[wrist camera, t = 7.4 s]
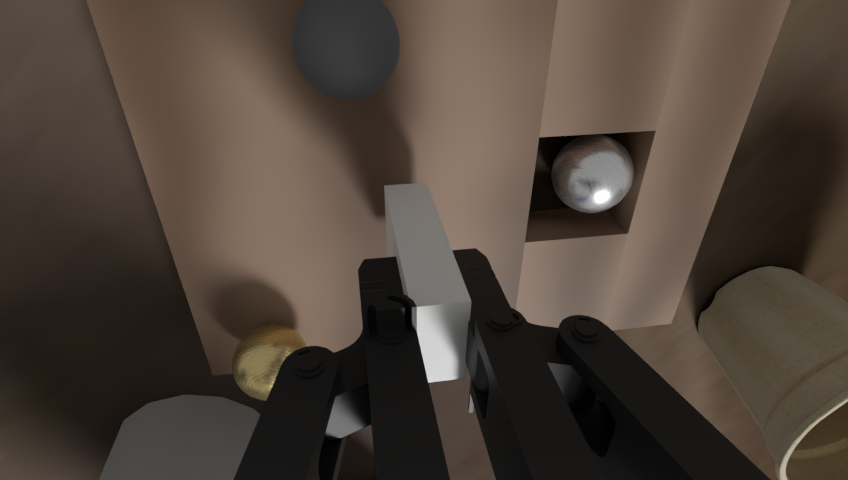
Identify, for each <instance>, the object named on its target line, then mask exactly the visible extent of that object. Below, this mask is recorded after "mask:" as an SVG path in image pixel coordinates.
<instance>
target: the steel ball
mask: <svg viewBox="0 0 848 480" xmlns="http://www.w3.org/2000/svg"><path fill="white" fill-rule="evenodd" d="M633 176H634V168H633V162H632V159H631V157H630V154H629V153H628V151H627V150H626V148H625V147H624V146H623V145H622V144H621V143H619V142H618V141H617V140H615V139H613V138H611V137H609V136H605V135H600V134H589V135H583V136H580V137H577V138H575V139H573V140H571V141H570V142H569V143H567V144H566V145H565V146H564V147H563V148H562V149H561V150H560V151H559V153H558V154H557V156H556V158H555V160H554V163H553V166H552V173H551V178H552V184H553V187H554V190H555V192H556V194H557V195H558V197H559V198H560V199H561V200H562V201H563V202H564V203H565V204H566V205H567V206H569V207H571V208H573V209H575V210H577V211H581V212H587V213H595V212H601V211H604V210H607V209H610V208H611V207H613V206H615V205H616V204H618V203H619V202H620V201H621V200H622V199H623V198H624V197H625V196H626V194H627V193H628V191H629V189H630V187H631V185H632V181H633Z"/></svg>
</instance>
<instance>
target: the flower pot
mask: <svg viewBox="0 0 848 480" xmlns="http://www.w3.org/2000/svg"><path fill="white" fill-rule="evenodd" d="M698 332H699V335H700V337H701V339H702V341H703V342H704V343H705V345H706V346H707V348H708V349H709V351H710V352H711V354H712V355H713V357H714V358H715V360H716V361H717V363H718V364H719V366H720V367H721V369H722V370H723V372H724V373H725V375H726V376H727V378H728V379H729V381H730V383H731V384H732V386H733V387H734V389H735V390H736V392H737V393H738V395H739V396H740V398H741V400H742V401H743V403H744V404H745V406H746V407H747V409H748V410H749V412H750V414H751V415H752V417H753V418H754V420H755V421H756V423H757V424H758V426H759V428H760V429H761V431H762V432H763V434H764V441H765V445H766V447H767V449H768V450H769V452H770V454H771V455H772V457H773V458H774V460H775V462H776V466H775V470H776V474H777V477H778V479H779V480H848V302H847V301H846V300H844V299H842V298H840V297H838V296H837V295H835V294H833V293H831V292H830V291H828V290H826V289H824V288H823V287H821V286H819V285H817V284H816V283H814V282H812V281H810V280H809V279H807V278H805V277H804V276H802V275H800V274H799V273H797V272H796V271H794V270H790V269H786V268H780V267H774V266H766V267H761V268H757V269H754V270H751V271H748V272H746V273H744V274H742V275H740V276H738V277H736V278H734V279H733V280H731V281H730V282H728V283H727V284H725V285H724V286H723V287H721V288H720V289H719V290H718V291H717V292H716V293H715V297H714V300H713V302H712V304H711V305H710V306H709V308H707V309H706V310H705V311H703V312H702V313H701V315H700V318H699V322H698Z"/></svg>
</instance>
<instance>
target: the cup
mask: <svg viewBox="0 0 848 480" xmlns="http://www.w3.org/2000/svg"><path fill="white" fill-rule="evenodd" d="M259 417H260V414H259V413H258V412H257V411H256V410H255V409H253V408H251V407H248V406H245V405H243V404H240V403H237V402H235V401H232V400H229V399H227V398H224V397H216V396H200V395H180V396H176V397H172V398H167V399H163V400H159V401H155V402H150V403H147V404H146V405H145V406H143V407H142V408H140V409H139V410H137V411H136V412H135V413H133V414H132V415H130V416H129V417H127V418H126V419H125V420H123V423H122V425H121V427H120V430H119V432H118V435H117V437H116V439H115V442H114V444H113V447H112V449H111V452H110V454H109V456H108V459H107V461H106V464H105V466H104V468H103V471H102V473H101V476H100V478H99V480H233V479H234V477H235V475H236V472H237V470H238V467H239V465H240V463H241V460H242V458H243V455H244V453H245V451H246V448H247V446H248V443H249V441H250V439H251V436H252V434H253V431H254V429H255V427H256V424H257V422H258V419H259Z"/></svg>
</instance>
